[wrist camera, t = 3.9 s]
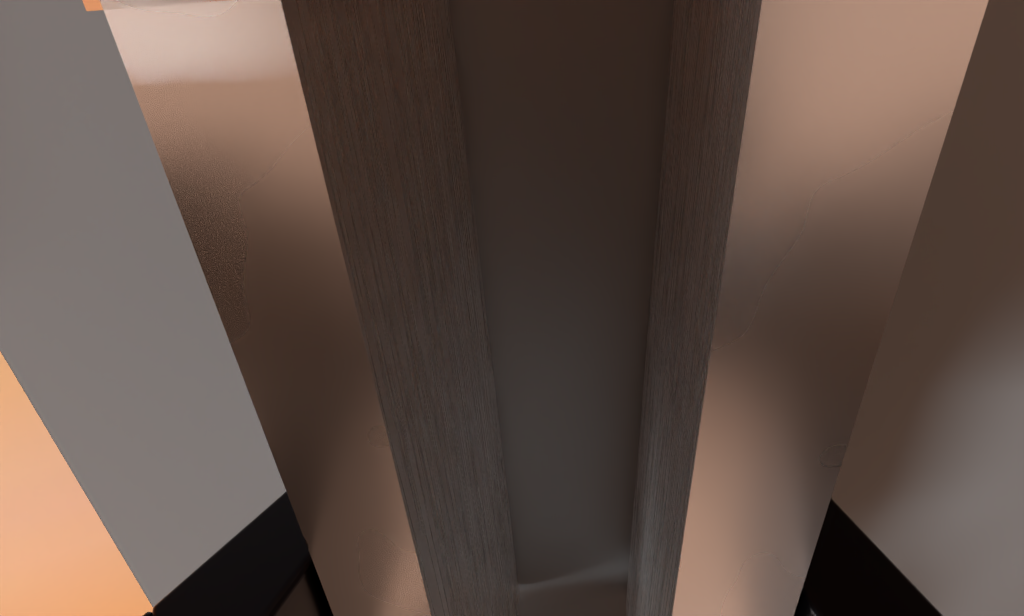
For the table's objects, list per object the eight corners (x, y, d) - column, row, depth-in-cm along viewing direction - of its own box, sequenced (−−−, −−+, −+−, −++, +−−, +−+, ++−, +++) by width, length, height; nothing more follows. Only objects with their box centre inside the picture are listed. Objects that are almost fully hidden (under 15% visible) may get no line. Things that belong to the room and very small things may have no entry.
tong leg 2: (524, 596, 12) (496, 854, 9) (463, 592, 13) (413, 843, 9) (401, -495, 5) (9, -1254, 2) (258, -469, 5) (-360, -1117, 2)
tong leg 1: (685, 607, 12) (717, 882, 9) (620, 603, 12) (627, 869, 9) (877, -567, 5) (1619, -1798, 1) (703, -542, 5) (946, -1586, 1)
